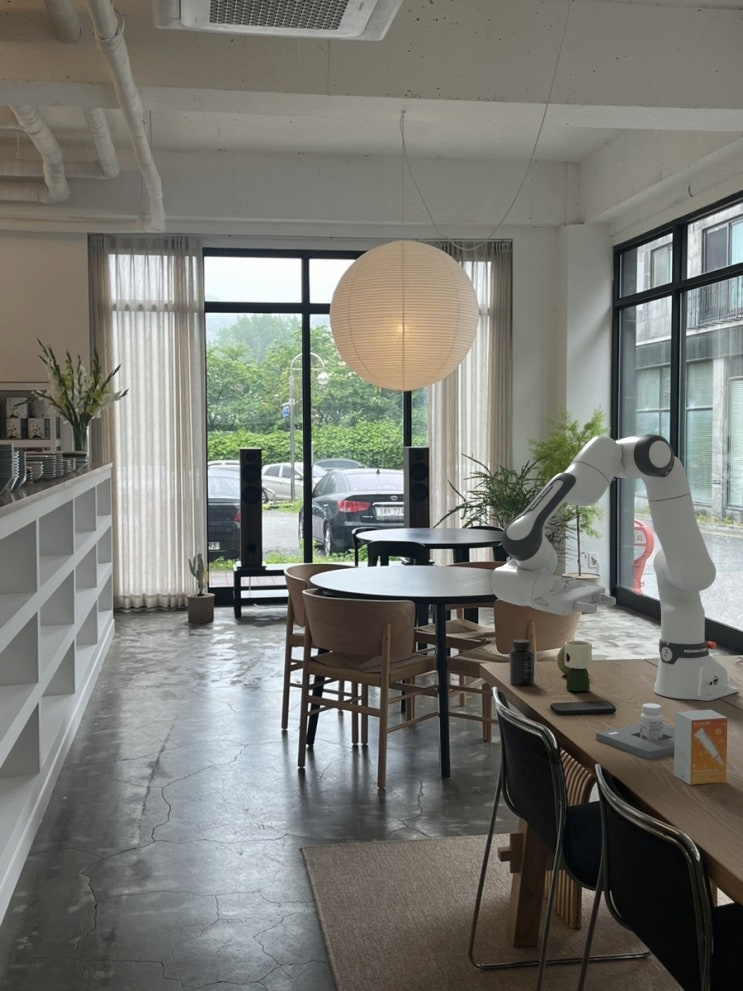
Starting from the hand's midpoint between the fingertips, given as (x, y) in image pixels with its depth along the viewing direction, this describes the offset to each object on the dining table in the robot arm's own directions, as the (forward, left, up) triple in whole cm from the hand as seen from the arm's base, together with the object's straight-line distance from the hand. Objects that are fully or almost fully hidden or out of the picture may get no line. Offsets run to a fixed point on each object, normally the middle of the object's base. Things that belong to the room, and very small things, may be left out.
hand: (605, 605), depth 227 cm
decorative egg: (-30, -47, -30) cm, 63 cm away
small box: (+6, +34, -30) cm, 46 cm away
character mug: (-20, -32, -30) cm, 48 cm away
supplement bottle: (-12, -46, -30) cm, 56 cm away
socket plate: (-3, +12, -29) cm, 32 cm away
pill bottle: (-3, +12, -30) cm, 32 cm away
